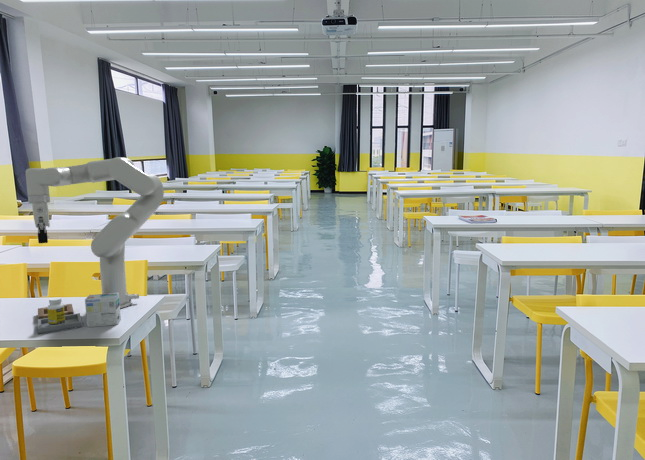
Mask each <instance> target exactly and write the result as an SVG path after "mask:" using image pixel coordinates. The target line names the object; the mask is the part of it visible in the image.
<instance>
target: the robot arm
mask: <svg viewBox="0 0 645 460" xmlns="http://www.w3.org/2000/svg"><path fill="white" fill-rule="evenodd" d="M108 181H117V182H118V183H120V184H121V185H123V187H126V188H127V189H129V190H131V191H133V192H134V193H136V194H138V195H139V197H138V198H137V199H136V200H135V201H134V202H133V204H131V205H130V207H128V208H127V209H126V210H125V211H124V212H122V213H121V214H119V215H116V216H114V218H112V219H111V220H110V221H109V222H108V223H107V224H106V225H105V226H104V227H103V228H102V229H101V230H100V231H99V232H98V233H97V234H96V235H95V237H94V238H93V239H92V240H91V243H90V248H91V252H92V253H93V255H94V256H95V257H97V258H99V272H100V273H99V274H100V283H101V285H100V286H101V294H110V293H119V303H120V309H123V308H126V307H129V306H131V305H132V300H133V299H134V300H137V299H140V294H139V293H131V294H129V293H128V291H127V278H126V261H125V253H126V252H125V251H126V250H125V248H126V244H125V243H126V242H127V241H128V240H129V238H131V237H132V236H134V235H135V234H137V233H138V232H139V230H140V229H141V227H143V225H144V224H145V223H147V222H148V220H149V219H150V217H152V215H154V213H155V212H156V211H157V210H158V209H159V207H160V205H161V204H162V202H163V198H164V194H165V191H164V190H165V189H164V186H163V182H162V180H161V179H160V178H159V177H158V176H157V175H156V174H154V173H145V172H143V171H142V170H141V169H139V168H137V167H135V163H134V162H133V161H132V159H130V158H128V157H124V156H123V157H121V156H119V157H118V156H117V157H113V158H108V159H101V160H92V161H89V162H87V163H83V164H77V165H71V166H62V167H61V166H58V167H57V166H56V167H47V168H43V167H42V168H41V167H33V168H32V167H31V168H30V167H29V168H26V170H25V182H26V192H27V201H28V204H30V205H31V206H32V213H33V214H32V215H33V221H34V226H35V228H36V229H37V241H38V244H47V243H48V242H49V241H48V239H49V238H48V232H47V231H48V230H47V228H50V226H51V225H50V215H49V214H50V213H49V207H48V206H49V205H48V204H49V203H51V199H50V198H51V197H50V187H62V186H63V187H64V186H69V185H78V184H83V183H84V184H85V183H92V184H93V183H101V182H108Z"/></svg>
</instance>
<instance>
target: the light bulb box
mask: <svg viewBox="0 0 645 460" xmlns="http://www.w3.org/2000/svg"><path fill="white" fill-rule="evenodd" d="M84 305H85V313H86V314H85V315H86V327H87V328H93V327H94V328H95V327H107V326H116V325H119V323H120V321H121V320H122V317H121V308H120V303H119V293H110V294H102V293H99V294H98V293H96V294H89V295H87V297H86V298H84Z"/></svg>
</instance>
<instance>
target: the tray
mask: <svg viewBox="0 0 645 460" xmlns="http://www.w3.org/2000/svg"><path fill="white" fill-rule="evenodd" d="M79 328H83V320H82V316H81V313H80V312H79V313H74V314H71V315H65V324H61V325H54V326H49V323H48V318H44V319H38V318H37V335H43V334H48V333H54V332H55V333H56V332H61V331H67V330H73V329H74V330H75V329H79Z"/></svg>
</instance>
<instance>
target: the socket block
mask: <svg viewBox="0 0 645 460" xmlns="http://www.w3.org/2000/svg"><path fill="white" fill-rule="evenodd" d="M47 307H48V306H47ZM47 307H46V306H45V307H40V308H37V320H38V319H44V318H48V310H47ZM64 312H65V315H71V314H75V313H74V312H75V311H74V308H73V304H72V303H67V304H64Z"/></svg>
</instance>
